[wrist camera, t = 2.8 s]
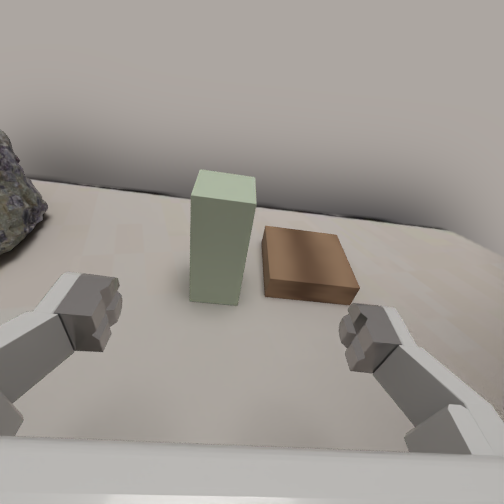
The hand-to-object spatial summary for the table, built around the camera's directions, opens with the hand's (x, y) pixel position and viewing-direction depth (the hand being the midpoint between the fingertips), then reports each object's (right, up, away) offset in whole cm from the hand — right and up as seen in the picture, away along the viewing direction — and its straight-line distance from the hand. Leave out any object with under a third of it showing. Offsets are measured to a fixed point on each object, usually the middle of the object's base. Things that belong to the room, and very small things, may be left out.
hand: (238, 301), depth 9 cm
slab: (+6, -1, +22) cm, 22 cm away
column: (-3, -2, +17) cm, 18 cm away
